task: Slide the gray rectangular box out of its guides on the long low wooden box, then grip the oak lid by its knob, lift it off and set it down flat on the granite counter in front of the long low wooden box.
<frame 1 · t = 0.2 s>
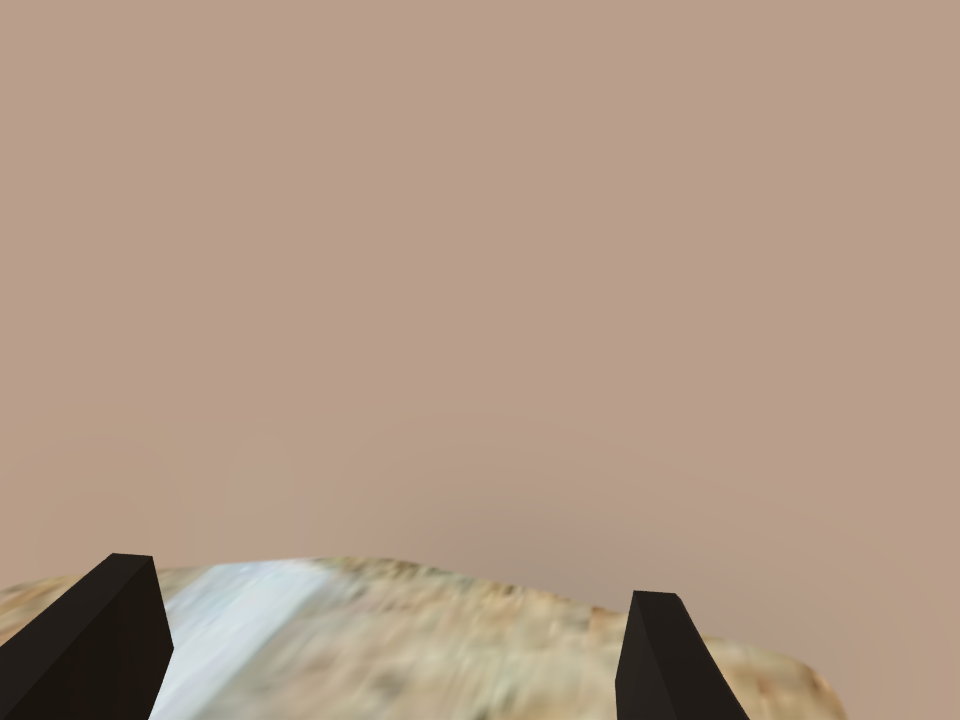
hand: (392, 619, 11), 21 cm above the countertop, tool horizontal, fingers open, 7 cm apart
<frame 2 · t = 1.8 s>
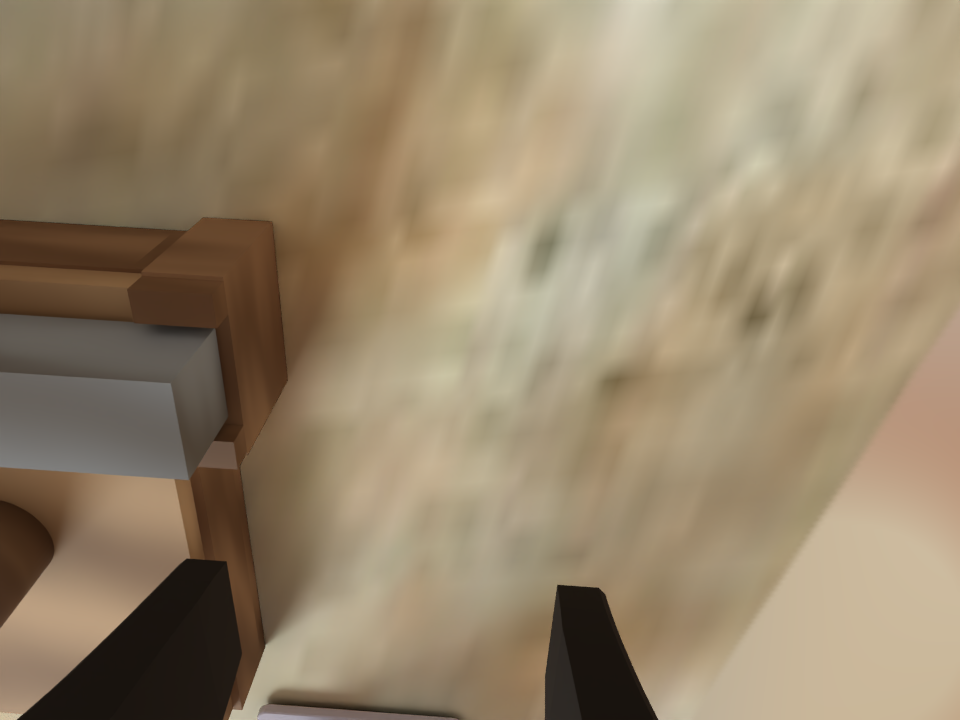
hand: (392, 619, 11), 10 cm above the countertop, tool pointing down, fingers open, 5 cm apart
lid: (20, 518, 21), point 3 cm above the countertop, touching long low wooden box
long low wooden box: (68, 462, 24), on the countertop
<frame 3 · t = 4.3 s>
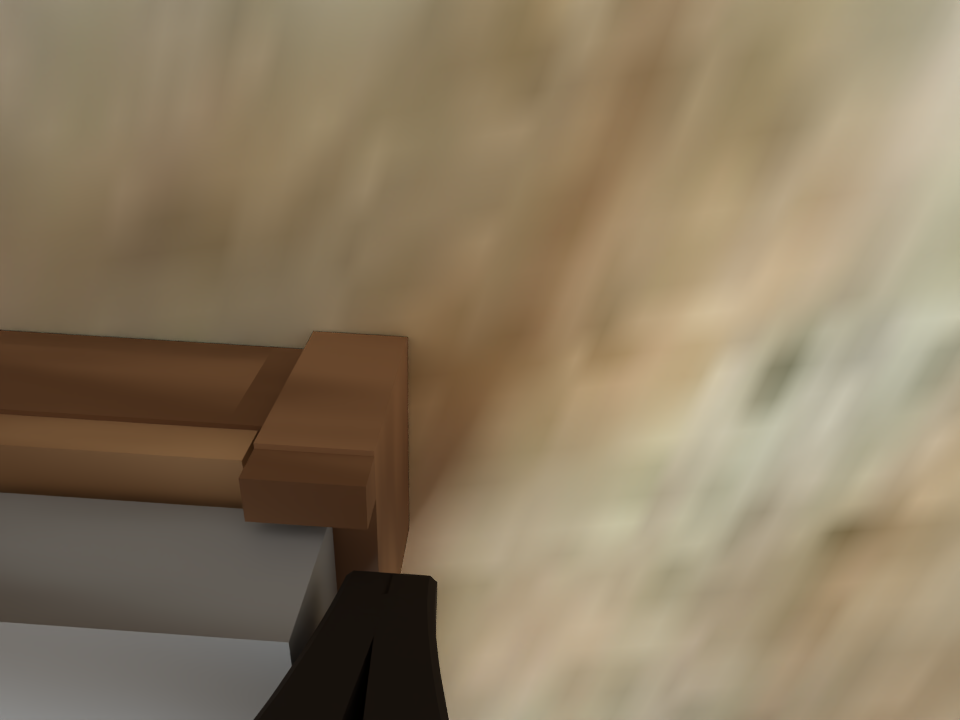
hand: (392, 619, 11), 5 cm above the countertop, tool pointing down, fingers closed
lid: (59, 713, 16), point 3 cm above the countertop, touching long low wooden box
long low wooden box: (116, 618, 18), on the countertop
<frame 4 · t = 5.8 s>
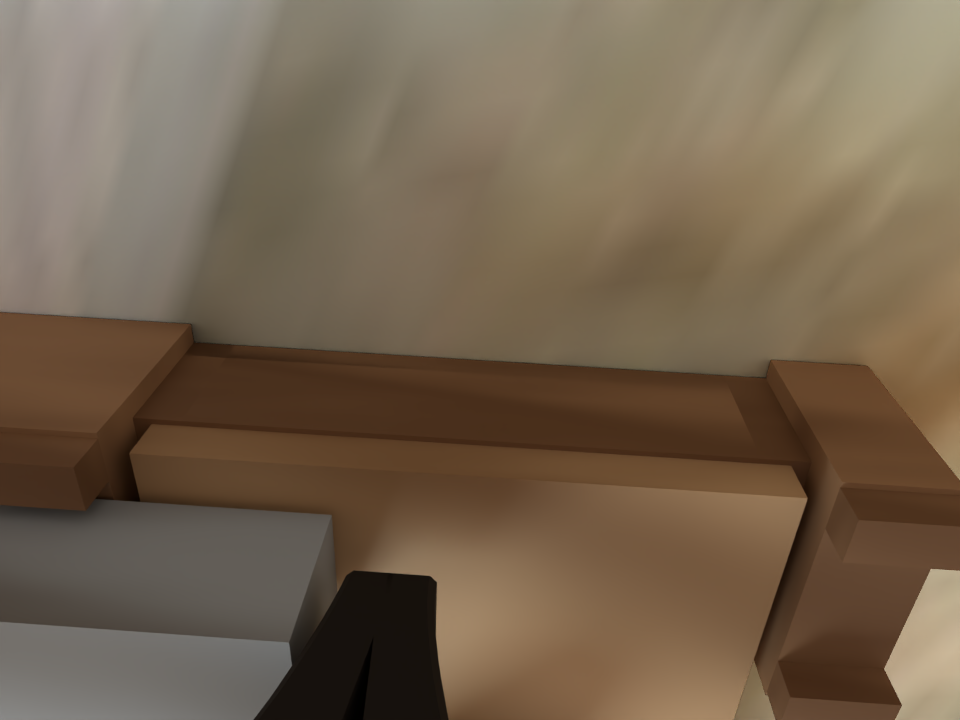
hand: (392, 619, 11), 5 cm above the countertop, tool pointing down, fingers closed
long low wooden box: (464, 643, 18), on the countertop
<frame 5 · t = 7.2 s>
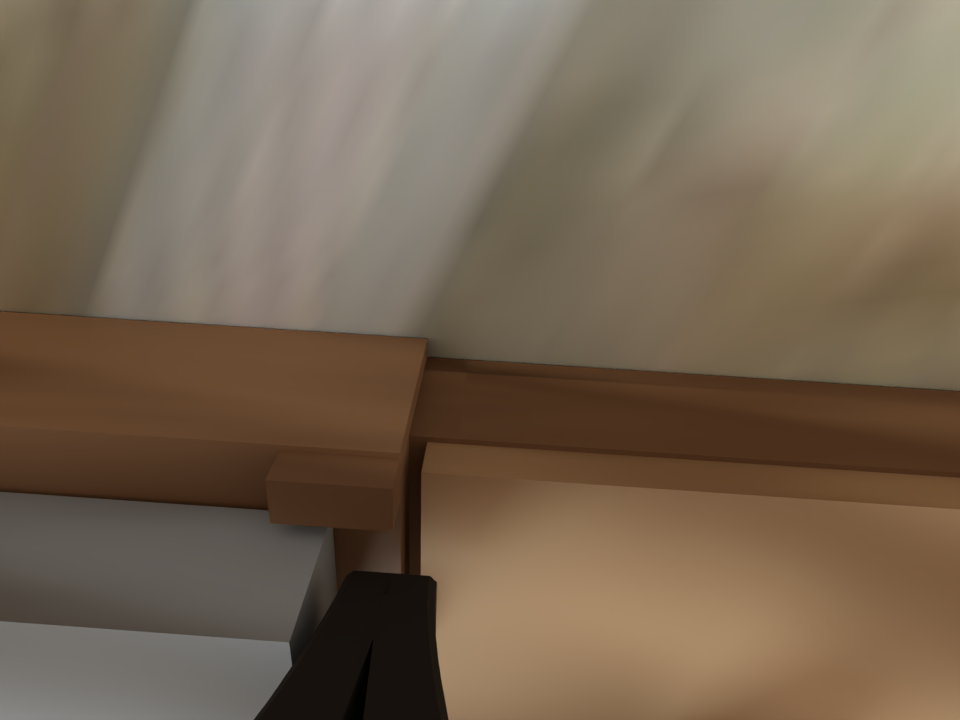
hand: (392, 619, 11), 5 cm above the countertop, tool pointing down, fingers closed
long low wooden box: (648, 657, 18), on the countertop
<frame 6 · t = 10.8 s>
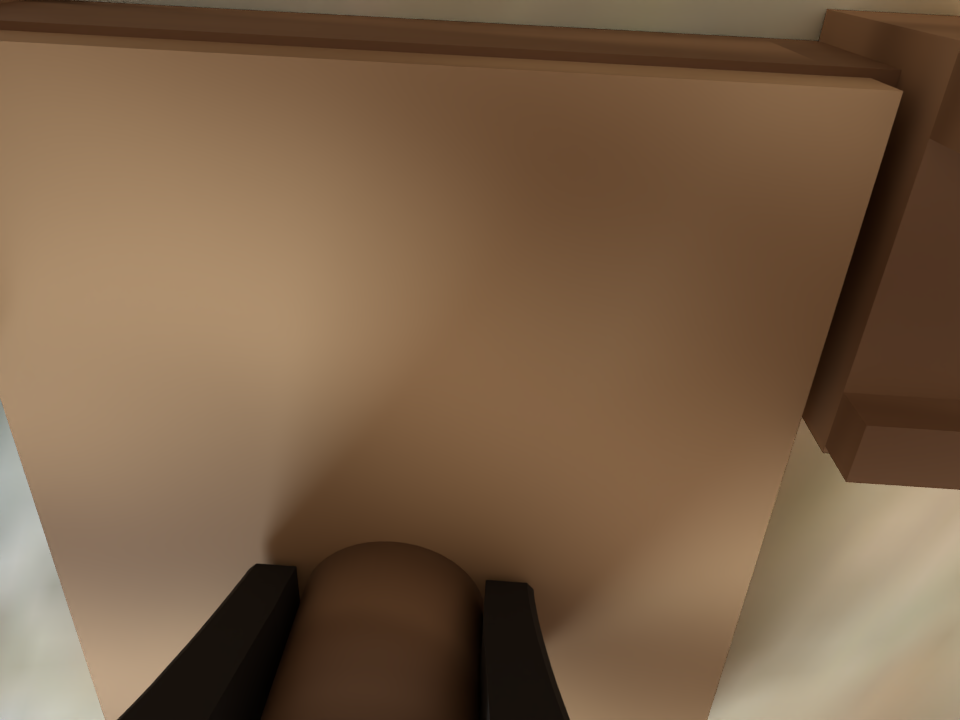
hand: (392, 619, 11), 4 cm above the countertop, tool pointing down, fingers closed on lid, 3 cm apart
lid: (401, 571, 12), point 3 cm above the countertop, touching gripper, long low wooden box
long low wooden box: (420, 471, 14), on the countertop
when the fingers open (3 cm above the countertop, at t = 14.3 s): lid drops 1 cm, on the countertop.
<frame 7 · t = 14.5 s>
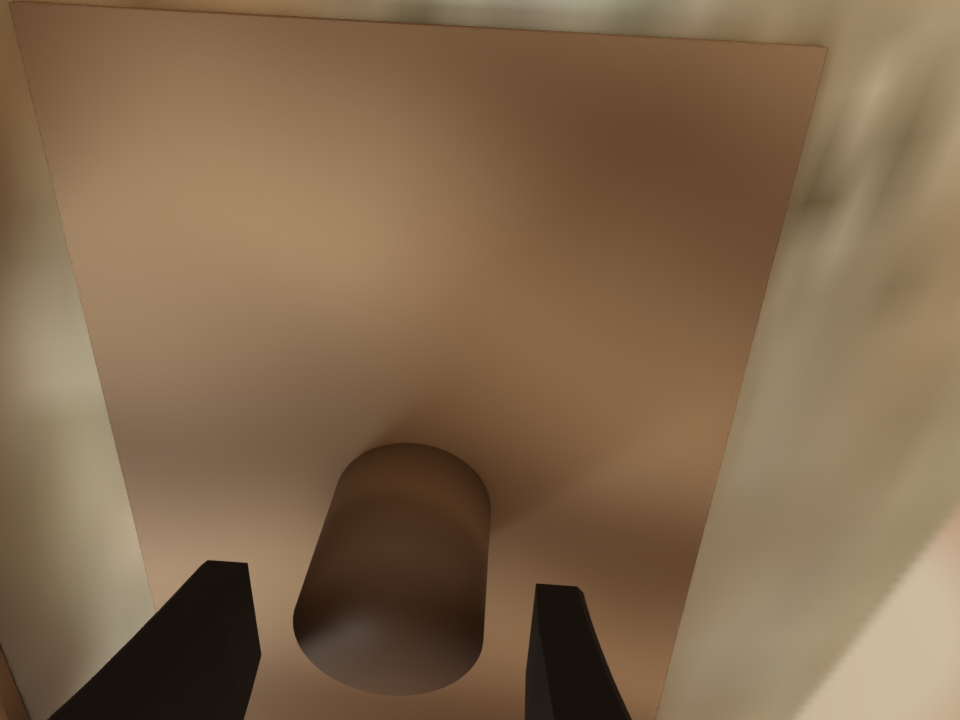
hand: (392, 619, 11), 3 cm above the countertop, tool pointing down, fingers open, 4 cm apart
lid: (418, 478, 14), on the countertop
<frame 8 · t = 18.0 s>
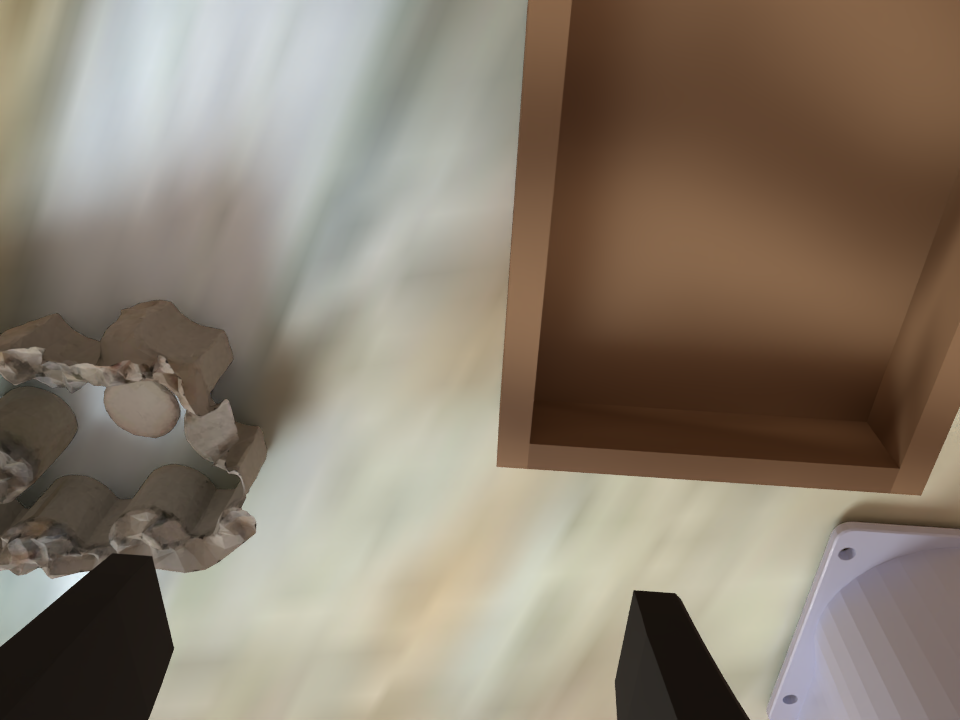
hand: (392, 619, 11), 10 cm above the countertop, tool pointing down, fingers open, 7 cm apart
egg carton: (100, 409, 23), on the countertop
long low wooden box: (750, 146, 18), on the countertop
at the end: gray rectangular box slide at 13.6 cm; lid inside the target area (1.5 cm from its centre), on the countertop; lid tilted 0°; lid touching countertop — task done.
